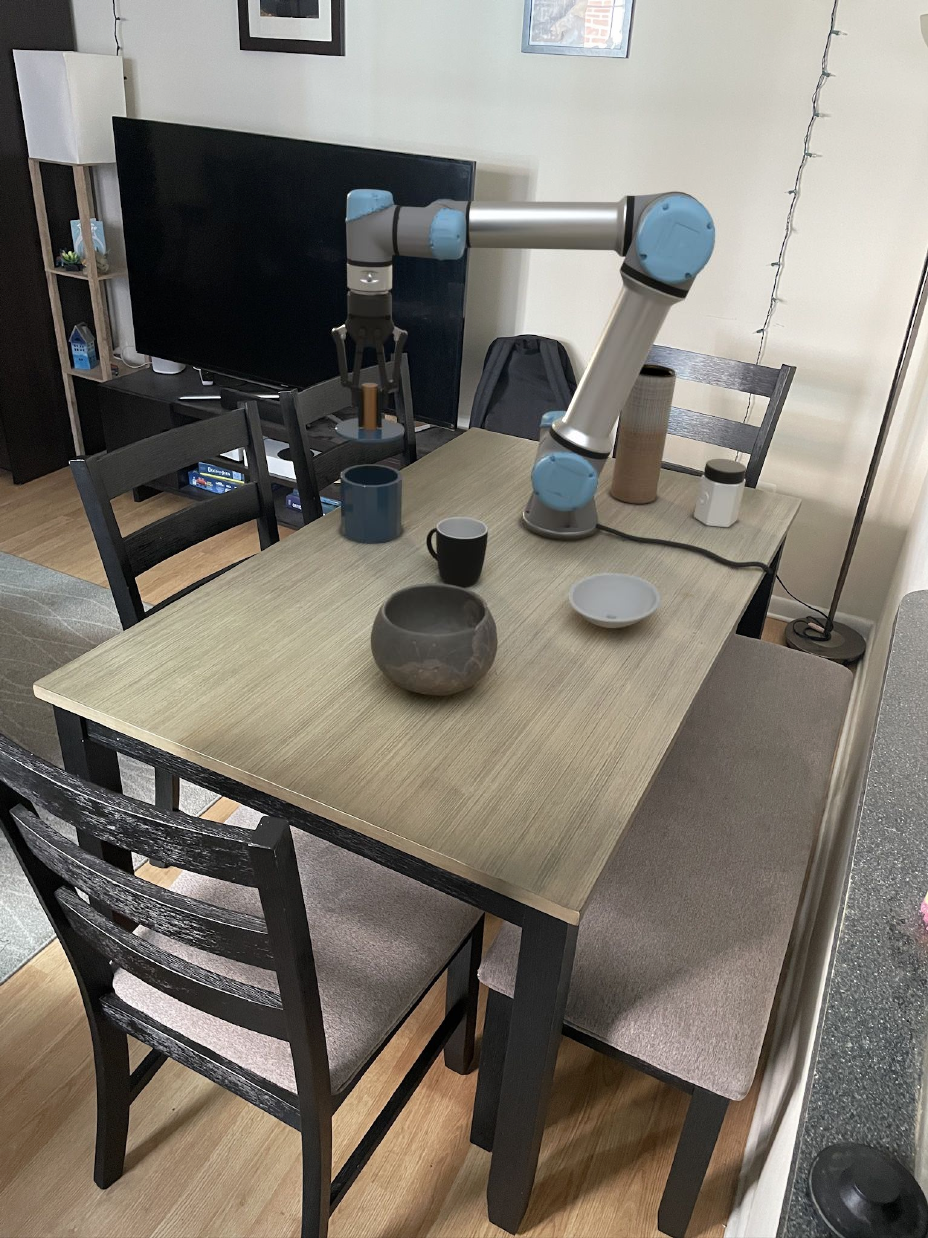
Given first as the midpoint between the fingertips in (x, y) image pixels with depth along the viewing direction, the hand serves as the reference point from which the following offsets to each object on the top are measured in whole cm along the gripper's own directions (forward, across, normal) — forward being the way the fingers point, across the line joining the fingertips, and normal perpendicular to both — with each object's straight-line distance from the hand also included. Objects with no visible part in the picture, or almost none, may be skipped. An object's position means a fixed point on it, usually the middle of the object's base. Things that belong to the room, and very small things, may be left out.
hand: (370, 424), depth 163 cm
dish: (+22, +40, -34) cm, 57 cm away
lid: (+1, 0, 0) cm, 1 cm away
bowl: (+22, +10, -51) cm, 57 cm away
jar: (+22, +72, +9) cm, 76 cm away
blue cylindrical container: (+22, 0, +1) cm, 22 cm away
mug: (+22, +15, -18) cm, 32 cm away
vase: (+22, +58, +21) cm, 65 cm away
